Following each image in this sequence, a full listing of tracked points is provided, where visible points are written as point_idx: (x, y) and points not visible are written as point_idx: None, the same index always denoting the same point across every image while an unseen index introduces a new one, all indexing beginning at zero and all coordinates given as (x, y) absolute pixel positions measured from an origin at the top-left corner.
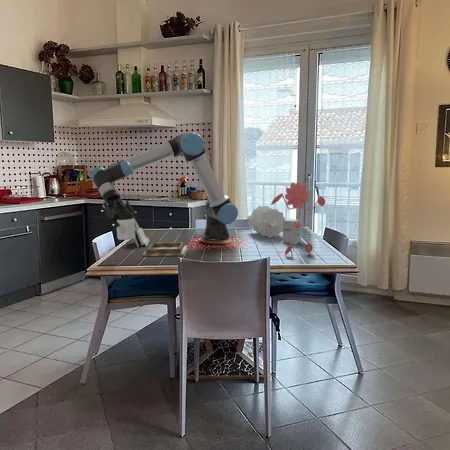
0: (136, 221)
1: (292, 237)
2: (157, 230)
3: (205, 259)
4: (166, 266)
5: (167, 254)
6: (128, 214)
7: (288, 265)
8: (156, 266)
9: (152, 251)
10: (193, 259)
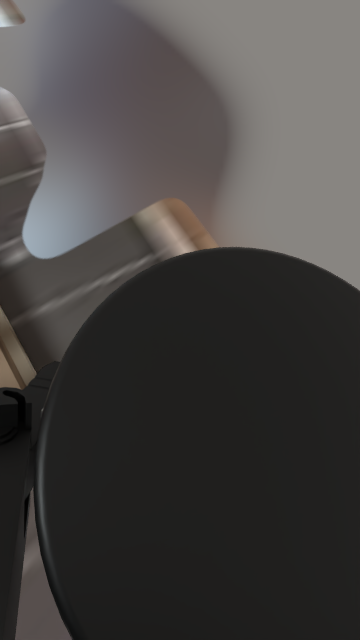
0: (52, 371)
1: None
2: None
3: (15, 166)
4: (166, 222)
5: (3, 314)
6: (295, 260)
7: (4, 8)
8: (184, 249)
9: (20, 381)
10: (32, 197)
